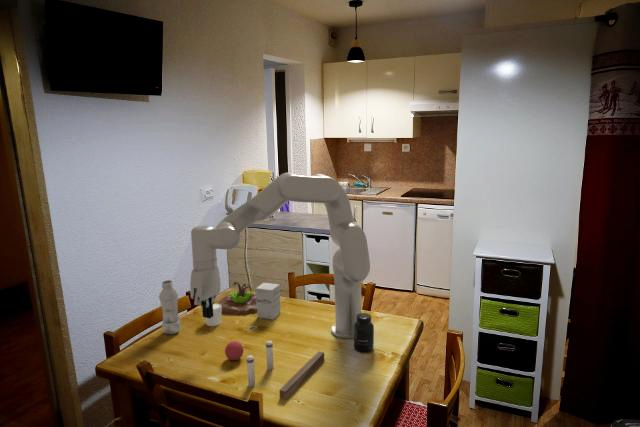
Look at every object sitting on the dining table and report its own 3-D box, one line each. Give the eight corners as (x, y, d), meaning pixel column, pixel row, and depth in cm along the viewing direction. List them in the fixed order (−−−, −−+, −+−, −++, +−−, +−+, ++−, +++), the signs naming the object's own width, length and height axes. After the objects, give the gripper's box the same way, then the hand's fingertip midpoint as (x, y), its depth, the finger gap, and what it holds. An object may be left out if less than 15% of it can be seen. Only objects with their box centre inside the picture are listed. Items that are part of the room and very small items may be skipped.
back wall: (324, 359, 145) (324, 352, 144) (285, 399, 124) (285, 391, 123) (318, 358, 146) (318, 351, 145) (279, 397, 125) (279, 389, 124)
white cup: (226, 321, 175) (225, 305, 174) (213, 328, 170) (212, 311, 168) (214, 318, 179) (212, 301, 178) (201, 324, 173) (199, 307, 172)
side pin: (256, 383, 132) (255, 356, 130) (252, 387, 130) (250, 359, 128) (251, 382, 133) (249, 354, 131) (246, 385, 131) (245, 357, 129)
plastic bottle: (176, 337, 163) (171, 285, 159) (159, 335, 165) (154, 284, 161) (184, 329, 169) (180, 279, 166) (168, 328, 171) (163, 278, 167)
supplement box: (256, 318, 178) (255, 288, 176) (265, 310, 185) (263, 281, 182) (273, 320, 175) (271, 289, 173) (281, 312, 182) (280, 283, 180)
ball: (247, 356, 148) (246, 340, 146) (236, 365, 142) (235, 348, 141) (233, 353, 150) (232, 336, 149) (221, 361, 145) (220, 344, 144)
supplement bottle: (360, 355, 146) (360, 321, 144) (349, 347, 152) (349, 314, 150) (377, 350, 150) (377, 317, 147) (366, 342, 156) (366, 310, 153)
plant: (224, 297, 202) (223, 274, 199) (267, 297, 200) (266, 273, 198) (211, 316, 182) (209, 290, 180) (258, 316, 181) (257, 290, 179)
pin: (275, 367, 140) (273, 341, 139) (271, 370, 139) (270, 344, 137) (269, 366, 141) (268, 340, 140) (265, 369, 140) (264, 342, 138)
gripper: (211, 256, 153) (214, 307, 156) (179, 268, 140) (183, 323, 143) (228, 259, 149) (231, 310, 153) (197, 272, 136) (201, 327, 140)
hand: (208, 316), depth 148 cm, fingers closed
